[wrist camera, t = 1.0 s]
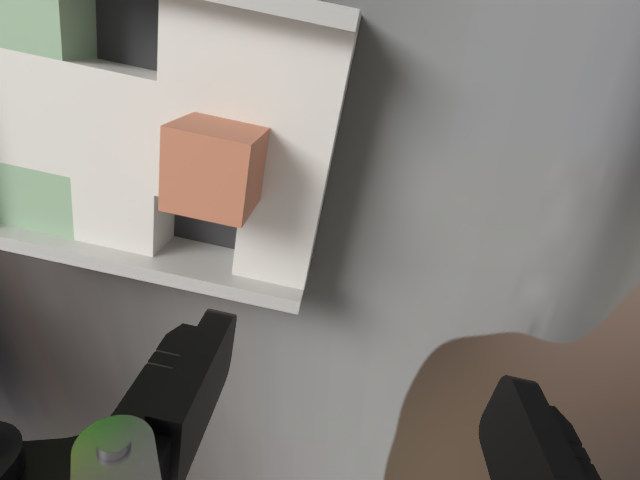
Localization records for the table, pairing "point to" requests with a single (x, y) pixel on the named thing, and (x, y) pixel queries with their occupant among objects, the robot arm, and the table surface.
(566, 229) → the table surface
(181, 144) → the block
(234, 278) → the box
